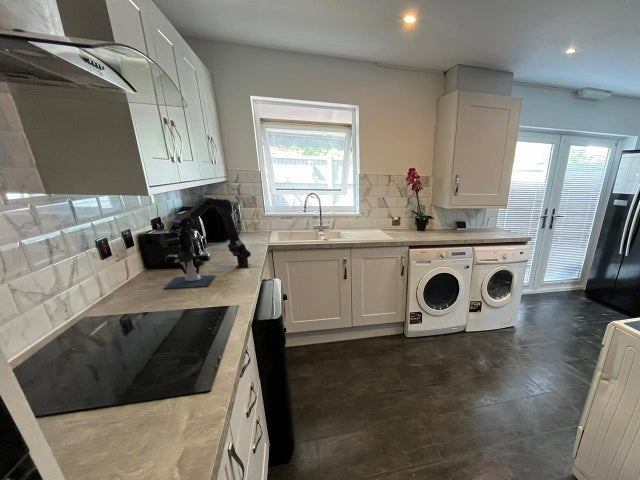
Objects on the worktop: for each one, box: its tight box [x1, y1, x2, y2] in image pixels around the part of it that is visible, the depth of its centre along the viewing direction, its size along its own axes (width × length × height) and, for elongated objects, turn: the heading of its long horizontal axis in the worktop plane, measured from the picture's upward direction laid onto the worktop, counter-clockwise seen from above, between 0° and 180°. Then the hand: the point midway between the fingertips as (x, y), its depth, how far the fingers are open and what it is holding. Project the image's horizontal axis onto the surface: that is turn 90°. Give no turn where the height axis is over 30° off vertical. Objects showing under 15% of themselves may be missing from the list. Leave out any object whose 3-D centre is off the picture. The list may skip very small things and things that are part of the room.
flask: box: [184, 260, 201, 281], centre depth 164 cm, size 7×7×10 cm
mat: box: [164, 274, 216, 290], centre depth 163 cm, size 18×18×1 cm
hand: (192, 274), depth 164 cm, fingers closed on flask, 5 cm apart
